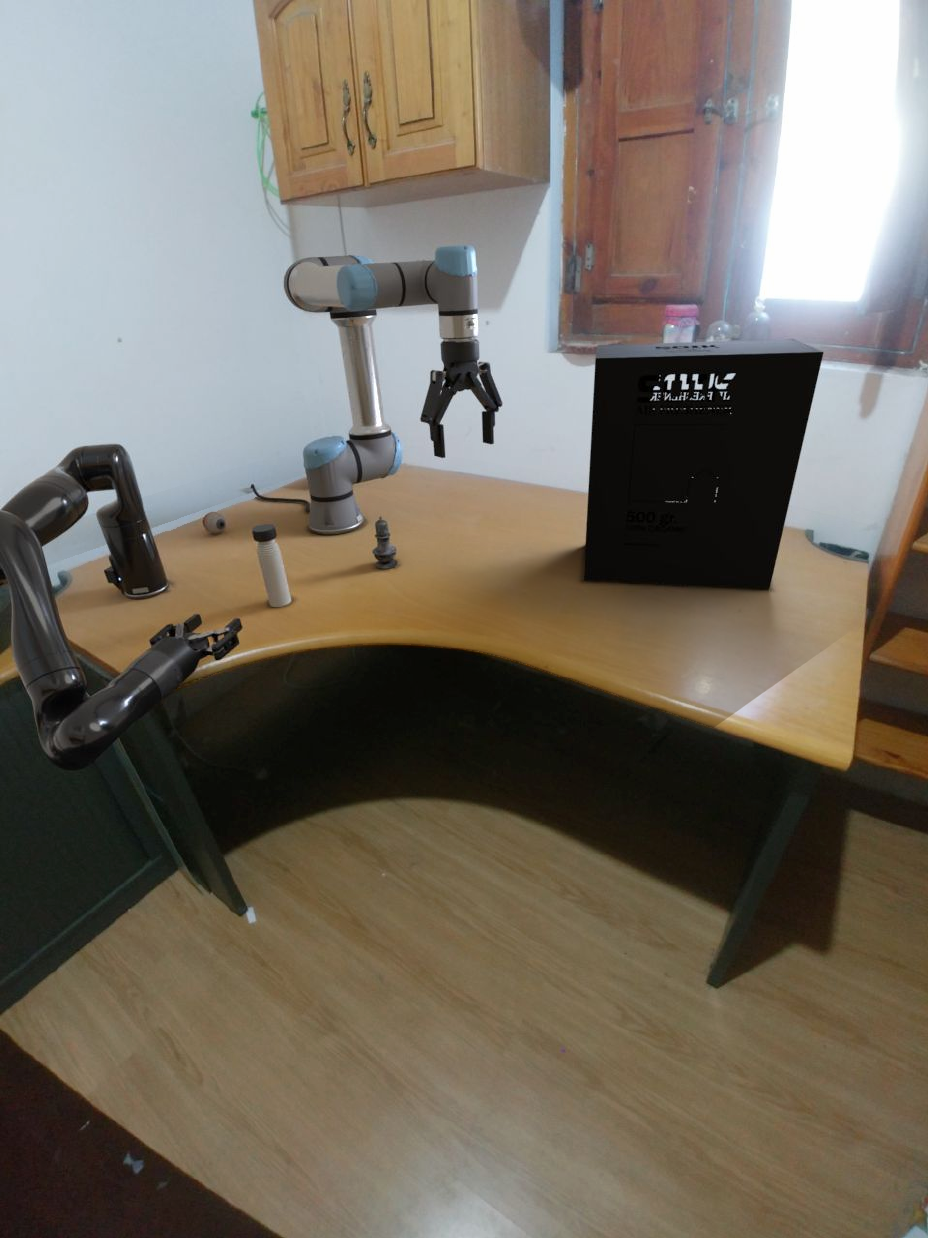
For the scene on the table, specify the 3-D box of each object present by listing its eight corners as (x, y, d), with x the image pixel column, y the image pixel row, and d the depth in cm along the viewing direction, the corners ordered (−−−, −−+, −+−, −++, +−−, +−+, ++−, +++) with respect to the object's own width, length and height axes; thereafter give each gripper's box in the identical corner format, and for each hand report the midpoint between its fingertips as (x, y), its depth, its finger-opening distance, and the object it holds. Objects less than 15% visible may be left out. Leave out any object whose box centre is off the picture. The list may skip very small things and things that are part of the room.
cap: (281, 536, 123) (279, 526, 122) (262, 543, 120) (259, 533, 119) (268, 532, 126) (266, 522, 125) (249, 539, 123) (247, 528, 122)
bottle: (295, 600, 131) (279, 528, 122) (277, 609, 128) (260, 535, 119) (283, 595, 133) (266, 523, 125) (265, 603, 130) (247, 530, 122)
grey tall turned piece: (394, 569, 142) (388, 521, 136) (370, 568, 143) (363, 520, 137) (401, 559, 147) (396, 512, 141) (378, 558, 148) (372, 511, 142)
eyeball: (216, 538, 165) (210, 517, 162) (201, 534, 168) (195, 514, 165) (233, 531, 169) (228, 510, 166) (219, 527, 172) (213, 507, 169)
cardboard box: (750, 549, 141) (792, 338, 119) (769, 589, 124) (823, 351, 101) (586, 544, 149) (597, 345, 126) (583, 580, 132) (595, 358, 109)
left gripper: (191, 655, 94) (248, 605, 108) (116, 646, 98) (180, 599, 111) (204, 694, 98) (257, 640, 111) (131, 684, 101) (192, 633, 115)
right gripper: (420, 347, 107) (429, 466, 118) (518, 333, 121) (519, 440, 131) (395, 345, 112) (406, 459, 123) (492, 332, 126) (495, 435, 136)
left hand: (219, 620), depth 111 cm, fingers open, 8 cm apart
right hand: (464, 449), depth 127 cm, fingers open, 13 cm apart
